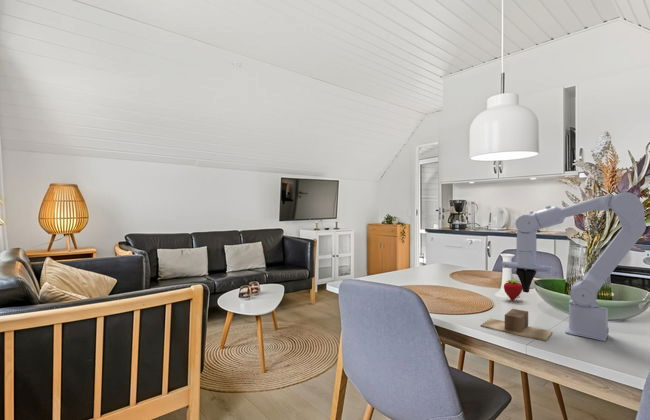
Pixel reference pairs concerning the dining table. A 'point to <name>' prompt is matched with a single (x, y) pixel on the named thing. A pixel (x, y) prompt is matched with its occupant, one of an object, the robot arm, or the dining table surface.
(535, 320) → the dining table surface
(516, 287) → the strawberry
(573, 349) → the dining table surface
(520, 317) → the walnut block
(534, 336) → the light wood flat board
